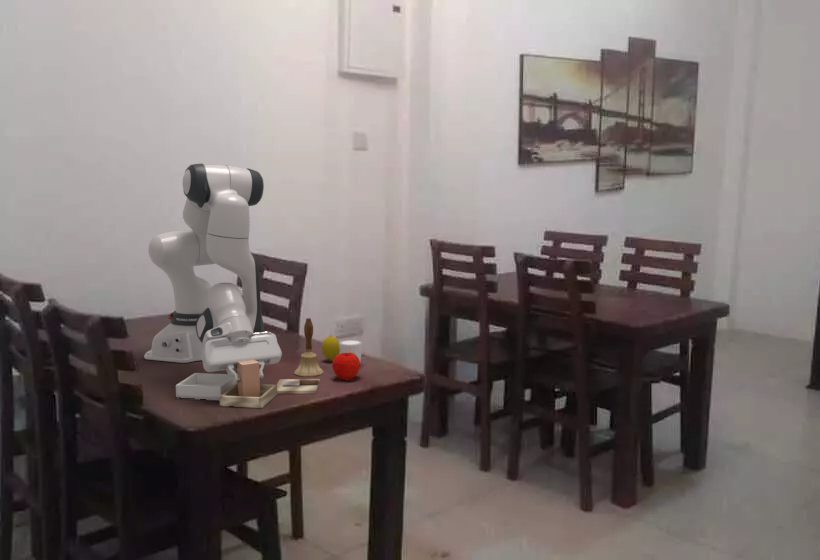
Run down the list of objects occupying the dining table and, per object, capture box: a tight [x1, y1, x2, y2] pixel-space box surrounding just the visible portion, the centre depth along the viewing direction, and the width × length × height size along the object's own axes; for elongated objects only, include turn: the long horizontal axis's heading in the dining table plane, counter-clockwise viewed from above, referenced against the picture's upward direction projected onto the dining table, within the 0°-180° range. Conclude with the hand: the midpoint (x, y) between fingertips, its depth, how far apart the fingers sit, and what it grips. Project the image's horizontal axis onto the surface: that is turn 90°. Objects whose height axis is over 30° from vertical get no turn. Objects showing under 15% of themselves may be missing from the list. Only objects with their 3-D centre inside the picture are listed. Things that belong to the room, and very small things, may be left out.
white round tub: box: [339, 339, 363, 366], centre depth 247 cm, size 7×7×7 cm
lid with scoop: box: [276, 378, 321, 395], centre depth 224 cm, size 11×11×2 cm
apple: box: [331, 353, 361, 381], centre depth 233 cm, size 8×8×7 cm
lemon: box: [321, 334, 340, 362], centre depth 252 cm, size 6×6×8 cm
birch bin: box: [219, 383, 278, 409], centre depth 213 cm, size 11×12×2 cm
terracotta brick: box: [236, 360, 261, 397], centre depth 213 cm, size 4×4×10 cm
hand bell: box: [294, 317, 324, 378], centre depth 238 cm, size 8×8×16 cm
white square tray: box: [175, 372, 236, 401], centre depth 219 cm, size 12×12×4 cm
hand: (249, 380), depth 212 cm, fingers closed on terracotta brick, 4 cm apart
